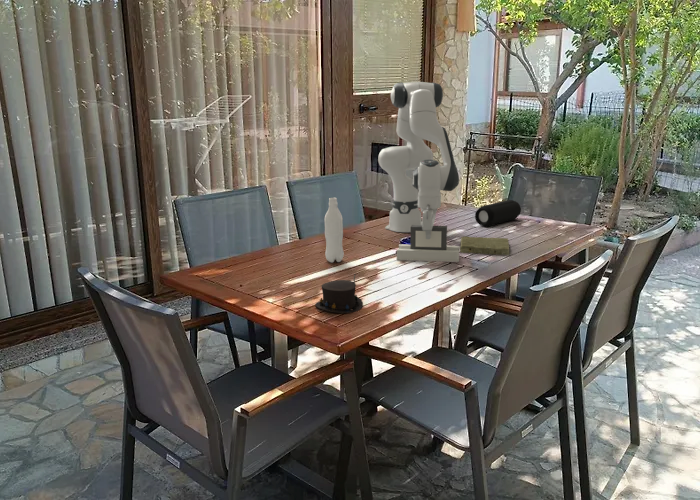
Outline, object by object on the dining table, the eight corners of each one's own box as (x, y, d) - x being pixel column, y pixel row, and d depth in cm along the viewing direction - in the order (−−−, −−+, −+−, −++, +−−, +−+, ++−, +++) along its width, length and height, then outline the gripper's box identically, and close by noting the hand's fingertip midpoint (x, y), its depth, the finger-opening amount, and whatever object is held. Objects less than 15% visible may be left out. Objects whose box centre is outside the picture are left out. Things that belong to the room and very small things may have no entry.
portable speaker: (505, 217, 316) (506, 198, 313) (522, 220, 308) (523, 200, 306) (473, 225, 300) (473, 205, 297) (489, 229, 292) (490, 208, 290)
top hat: (339, 318, 187) (338, 285, 184) (305, 307, 197) (304, 275, 194) (372, 305, 197) (372, 273, 195) (338, 295, 207) (337, 265, 205)
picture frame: (411, 249, 249) (411, 225, 247) (446, 250, 247) (447, 225, 244) (410, 251, 246) (410, 226, 244) (446, 252, 244) (446, 227, 241)
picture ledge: (399, 253, 254) (399, 244, 253) (459, 255, 249) (459, 246, 248) (396, 259, 245) (396, 250, 244) (458, 262, 241) (458, 252, 240)
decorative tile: (460, 243, 270) (460, 235, 269) (508, 244, 266) (508, 236, 265) (458, 254, 253) (459, 246, 252) (509, 256, 249) (510, 248, 248)
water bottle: (335, 257, 250) (333, 195, 244) (347, 260, 245) (346, 198, 239) (321, 261, 246) (319, 198, 239) (334, 264, 241) (332, 200, 234)
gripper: (435, 208, 231) (435, 244, 235) (438, 197, 250) (438, 231, 254) (418, 207, 232) (418, 243, 236) (423, 197, 251) (422, 231, 255)
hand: (428, 237), depth 245 cm, fingers closed on picture frame, 3 cm apart
